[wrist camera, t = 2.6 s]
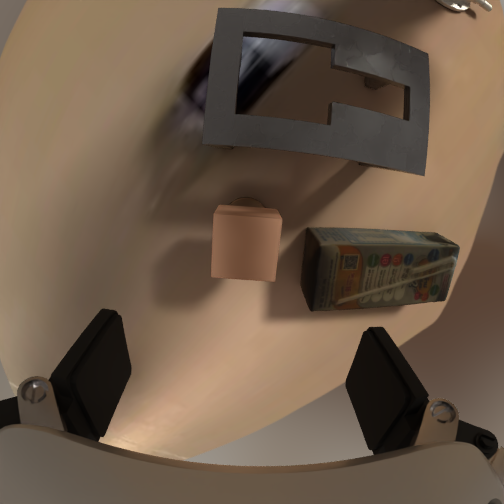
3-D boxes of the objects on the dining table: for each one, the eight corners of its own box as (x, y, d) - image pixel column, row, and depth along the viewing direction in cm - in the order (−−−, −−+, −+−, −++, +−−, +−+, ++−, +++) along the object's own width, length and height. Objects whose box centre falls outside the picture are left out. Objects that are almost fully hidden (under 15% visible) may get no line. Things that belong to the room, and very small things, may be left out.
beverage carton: (424, 284, 34) (449, 306, 28) (297, 288, 34) (307, 317, 28) (436, 230, 32) (465, 246, 25) (302, 224, 31) (315, 242, 25)
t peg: (271, 198, 30) (282, 219, 20) (266, 242, 32) (274, 281, 22) (224, 194, 30) (213, 214, 20) (222, 239, 31) (211, 277, 22)
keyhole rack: (376, 78, 25) (428, 53, 15) (370, 166, 29) (424, 176, 18) (227, 54, 24) (218, 7, 14) (218, 148, 28) (202, 144, 18)
